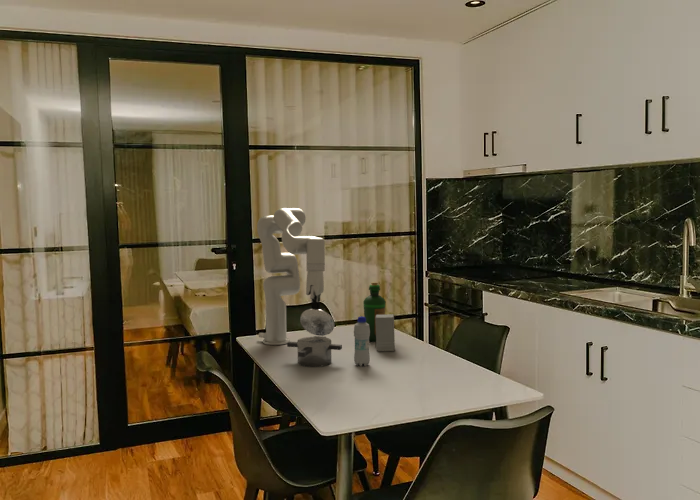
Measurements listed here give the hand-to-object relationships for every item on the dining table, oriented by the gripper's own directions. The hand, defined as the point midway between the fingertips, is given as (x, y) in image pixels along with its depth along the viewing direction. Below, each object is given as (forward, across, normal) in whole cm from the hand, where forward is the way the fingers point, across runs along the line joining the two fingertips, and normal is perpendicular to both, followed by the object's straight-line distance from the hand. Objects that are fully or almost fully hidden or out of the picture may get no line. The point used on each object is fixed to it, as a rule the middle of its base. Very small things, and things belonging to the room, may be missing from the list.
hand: (315, 311), depth 253 cm
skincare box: (+21, -25, +24) cm, 41 cm away
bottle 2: (+21, -43, +16) cm, 51 cm away
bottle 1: (+21, +2, +20) cm, 29 cm away
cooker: (+21, +6, 0) cm, 22 cm away
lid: (+5, -1, 0) cm, 5 cm away
